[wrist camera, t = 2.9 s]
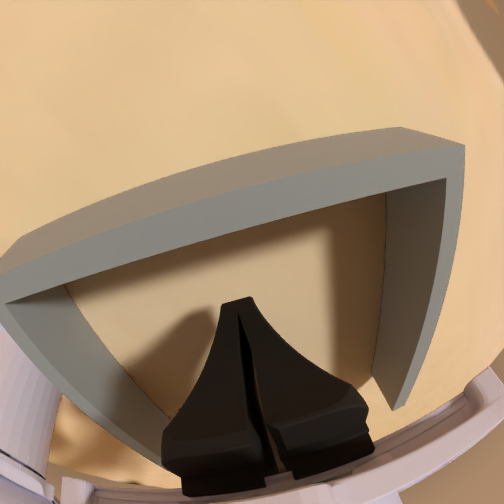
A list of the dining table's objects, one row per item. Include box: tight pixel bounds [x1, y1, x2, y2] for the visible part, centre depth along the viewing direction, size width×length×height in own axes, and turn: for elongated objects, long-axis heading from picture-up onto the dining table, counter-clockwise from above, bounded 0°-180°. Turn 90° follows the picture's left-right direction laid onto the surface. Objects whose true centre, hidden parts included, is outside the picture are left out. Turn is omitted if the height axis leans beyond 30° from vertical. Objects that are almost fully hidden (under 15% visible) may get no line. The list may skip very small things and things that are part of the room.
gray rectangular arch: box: [0, 127, 465, 471], centre depth 15 cm, size 20×20×4 cm
